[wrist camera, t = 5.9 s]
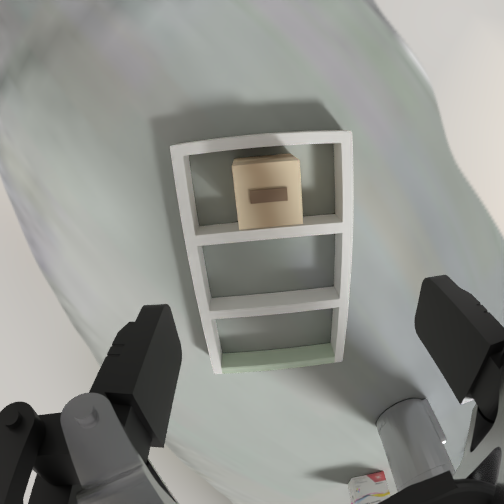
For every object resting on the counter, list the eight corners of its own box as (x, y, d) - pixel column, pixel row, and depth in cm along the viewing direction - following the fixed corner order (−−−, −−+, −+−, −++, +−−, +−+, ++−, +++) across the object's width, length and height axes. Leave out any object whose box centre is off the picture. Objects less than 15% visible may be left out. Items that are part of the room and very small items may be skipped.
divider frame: (343, 130, 25) (351, 131, 23) (337, 347, 36) (342, 361, 33) (176, 143, 26) (169, 146, 23) (215, 359, 36) (214, 374, 34)
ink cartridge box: (384, 470, 54) (397, 518, 41) (378, 477, 56) (390, 523, 43) (350, 477, 54) (362, 528, 41) (346, 484, 56) (356, 532, 43)
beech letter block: (290, 153, 26) (300, 160, 22) (293, 206, 29) (303, 224, 24) (234, 158, 27) (231, 166, 22) (240, 211, 29) (239, 230, 24)
